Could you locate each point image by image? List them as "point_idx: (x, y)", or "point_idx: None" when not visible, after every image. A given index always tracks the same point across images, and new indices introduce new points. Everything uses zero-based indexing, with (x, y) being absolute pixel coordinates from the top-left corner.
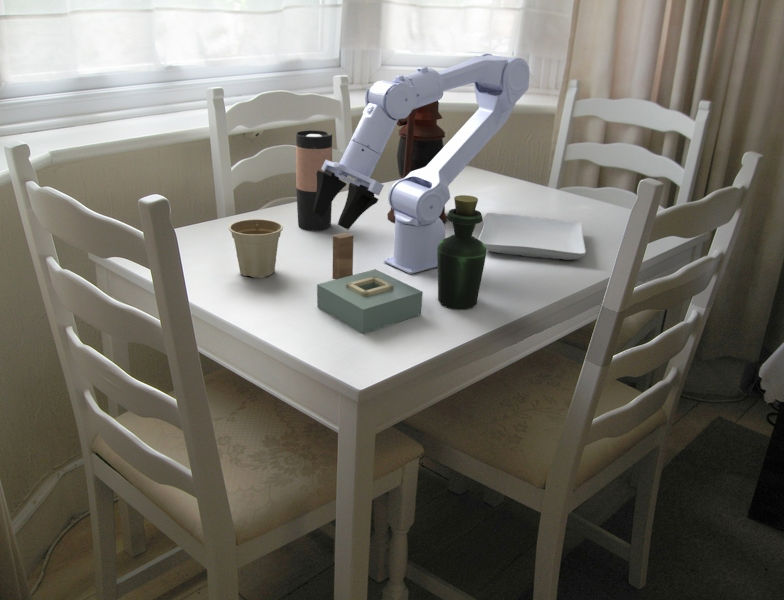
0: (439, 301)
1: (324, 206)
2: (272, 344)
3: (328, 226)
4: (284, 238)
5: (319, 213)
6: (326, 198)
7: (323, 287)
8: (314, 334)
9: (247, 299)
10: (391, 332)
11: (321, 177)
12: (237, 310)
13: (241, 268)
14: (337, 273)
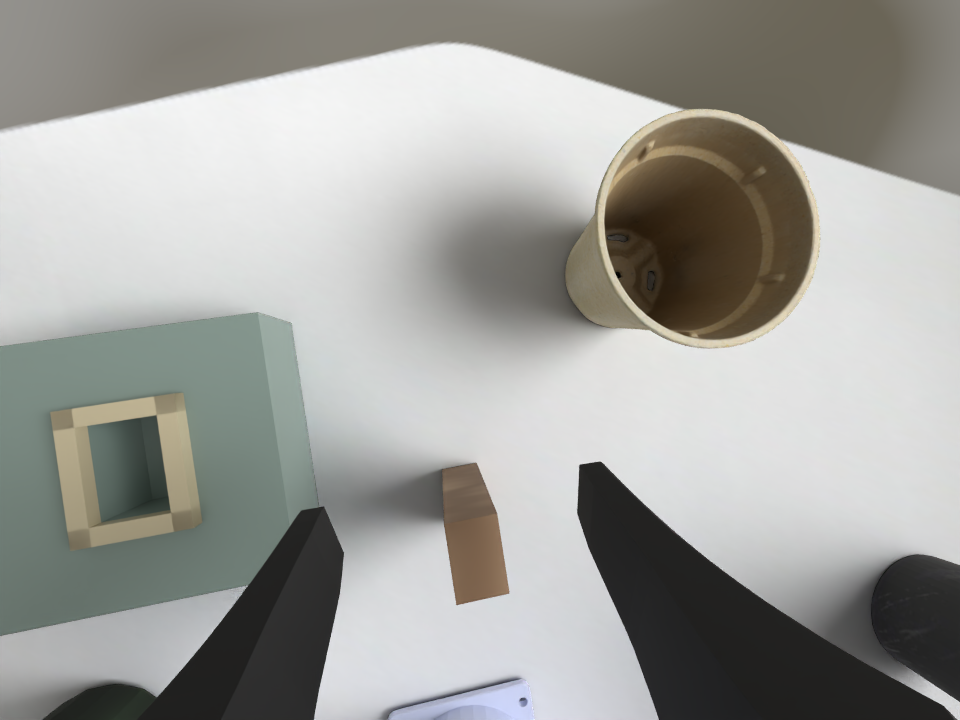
0: (128, 687)
1: (603, 554)
2: (119, 108)
3: (887, 647)
4: (845, 468)
5: (581, 499)
6: (635, 603)
7: (218, 318)
8: (121, 233)
9: (434, 171)
10: None
11: (796, 708)
12: (374, 118)
13: (614, 217)
14: (452, 473)
